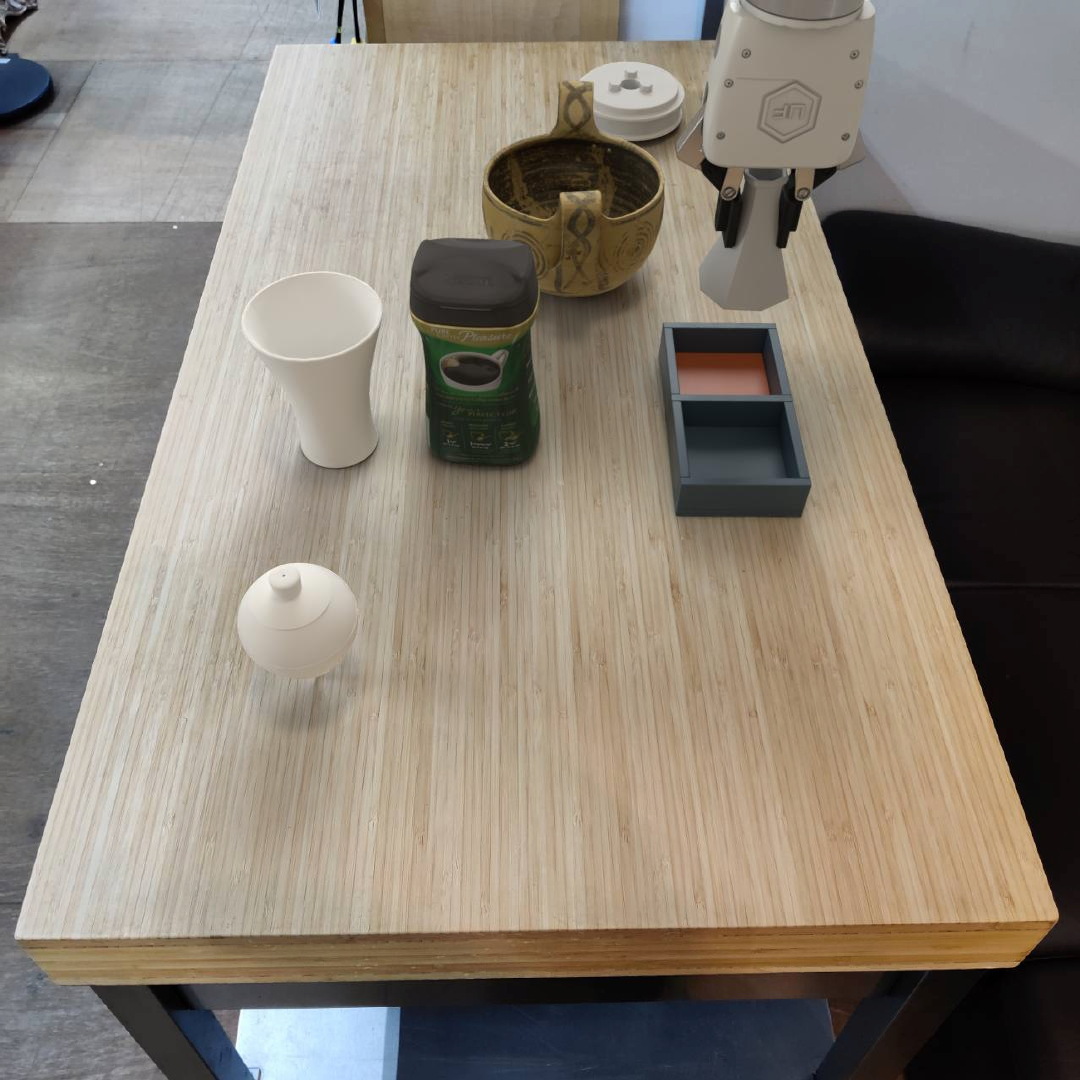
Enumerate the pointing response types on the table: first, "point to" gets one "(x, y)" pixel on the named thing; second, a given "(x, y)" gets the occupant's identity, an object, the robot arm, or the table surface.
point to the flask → (750, 250)
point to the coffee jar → (477, 348)
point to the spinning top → (298, 620)
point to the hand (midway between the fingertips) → (752, 235)
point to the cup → (321, 358)
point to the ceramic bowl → (576, 200)
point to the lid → (635, 100)
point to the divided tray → (731, 421)
